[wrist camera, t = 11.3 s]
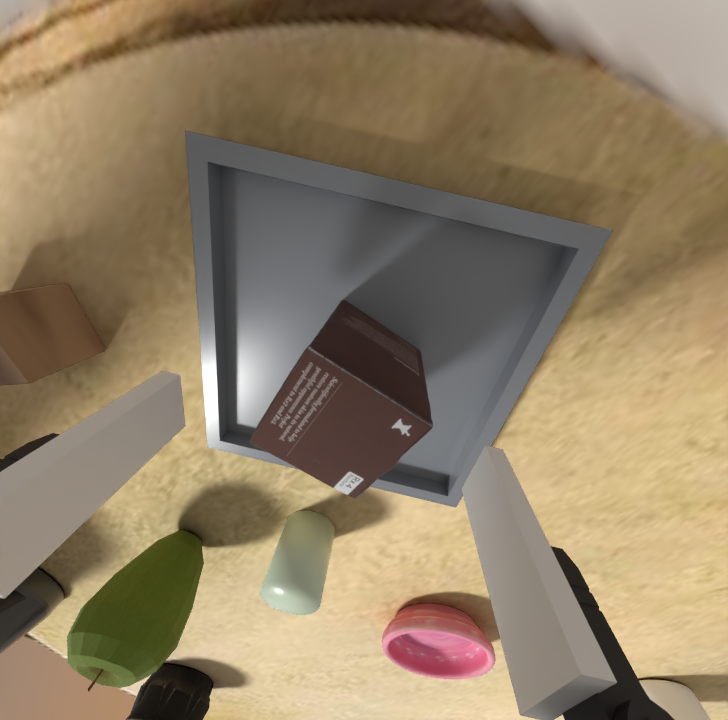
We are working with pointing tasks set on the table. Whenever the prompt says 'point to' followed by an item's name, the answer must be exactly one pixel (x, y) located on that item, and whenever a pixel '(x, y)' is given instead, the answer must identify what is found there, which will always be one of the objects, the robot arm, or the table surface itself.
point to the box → (349, 404)
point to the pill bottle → (675, 699)
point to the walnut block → (43, 333)
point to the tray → (373, 293)
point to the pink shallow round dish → (437, 643)
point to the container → (173, 695)
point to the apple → (138, 614)
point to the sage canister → (299, 564)
